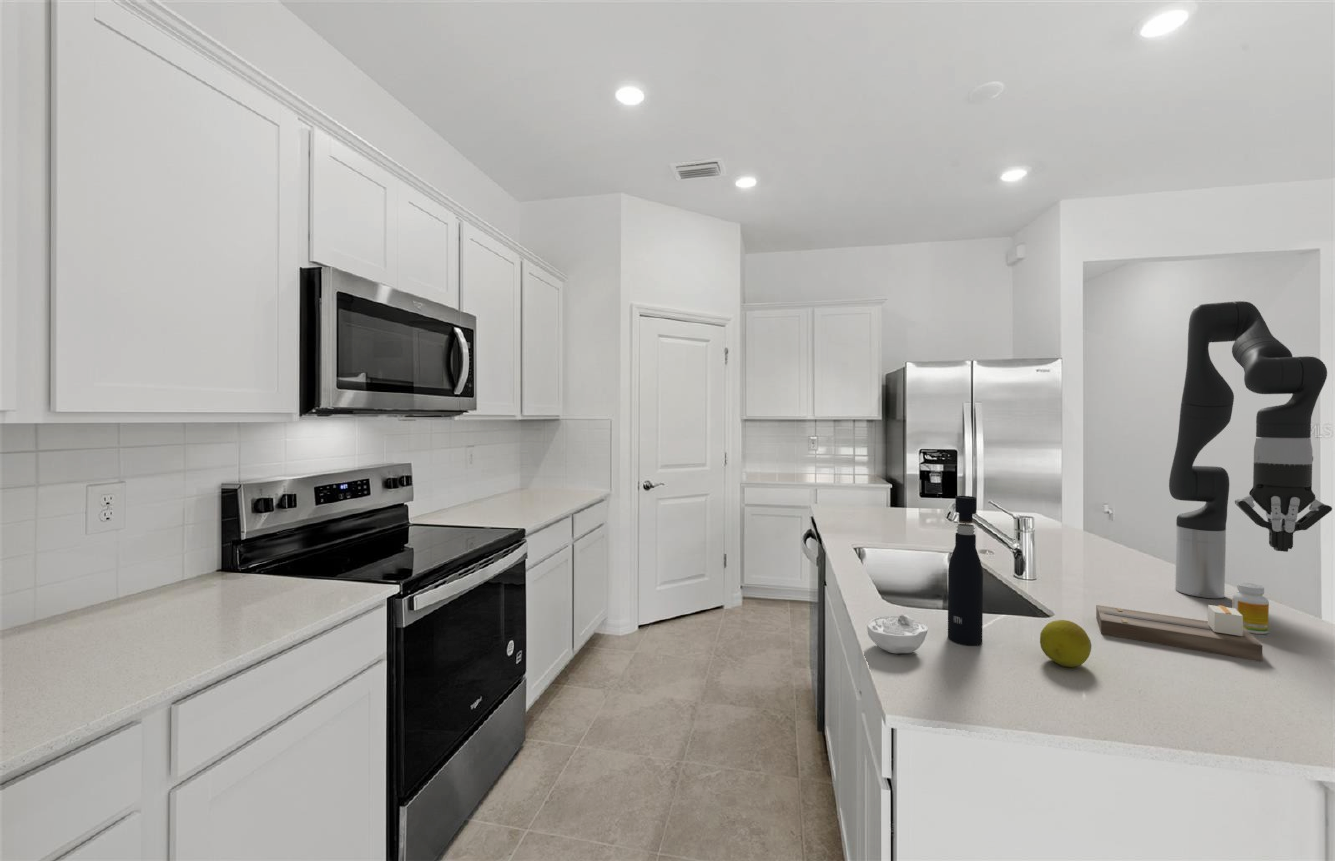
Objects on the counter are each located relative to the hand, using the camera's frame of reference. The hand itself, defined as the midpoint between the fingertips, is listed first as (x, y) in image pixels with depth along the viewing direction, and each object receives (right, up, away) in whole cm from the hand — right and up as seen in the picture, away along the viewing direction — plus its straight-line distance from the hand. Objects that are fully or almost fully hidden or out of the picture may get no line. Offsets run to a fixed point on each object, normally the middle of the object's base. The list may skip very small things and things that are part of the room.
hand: (1280, 550), depth 106 cm
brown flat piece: (-13, -20, +9) cm, 26 cm away
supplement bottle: (+8, -20, +13) cm, 25 cm away
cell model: (-73, -21, +4) cm, 76 cm away
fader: (-6, -17, +5) cm, 19 cm away
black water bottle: (-56, -21, +9) cm, 61 cm away
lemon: (-43, -21, -2) cm, 48 cm away
